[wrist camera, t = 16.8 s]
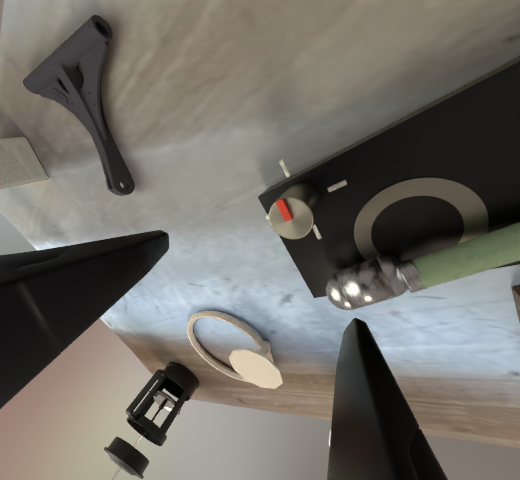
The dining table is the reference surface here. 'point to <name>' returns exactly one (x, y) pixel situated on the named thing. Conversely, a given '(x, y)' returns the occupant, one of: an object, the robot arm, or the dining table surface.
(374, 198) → the burner
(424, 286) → the green handled ring tool
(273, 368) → the hand towel holder
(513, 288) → the peg stand
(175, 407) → the french press
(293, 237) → the burner knob
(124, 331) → the dining table surface
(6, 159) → the small box
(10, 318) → the robot arm
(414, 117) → the stove
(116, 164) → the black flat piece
